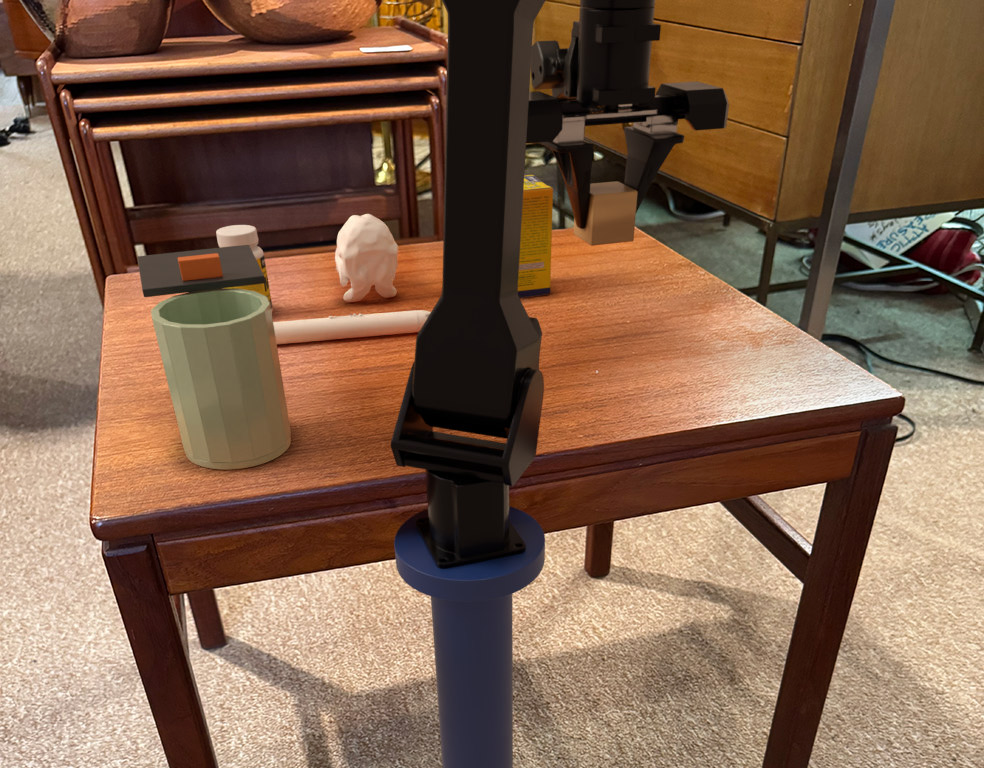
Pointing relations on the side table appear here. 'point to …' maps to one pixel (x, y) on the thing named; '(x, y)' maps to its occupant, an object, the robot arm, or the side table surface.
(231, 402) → the tumbler
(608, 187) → the block
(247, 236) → the supplement bottle
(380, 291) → the penguin figurine
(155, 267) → the slider
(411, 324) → the white rod
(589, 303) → the side table surface
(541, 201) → the supplement box
